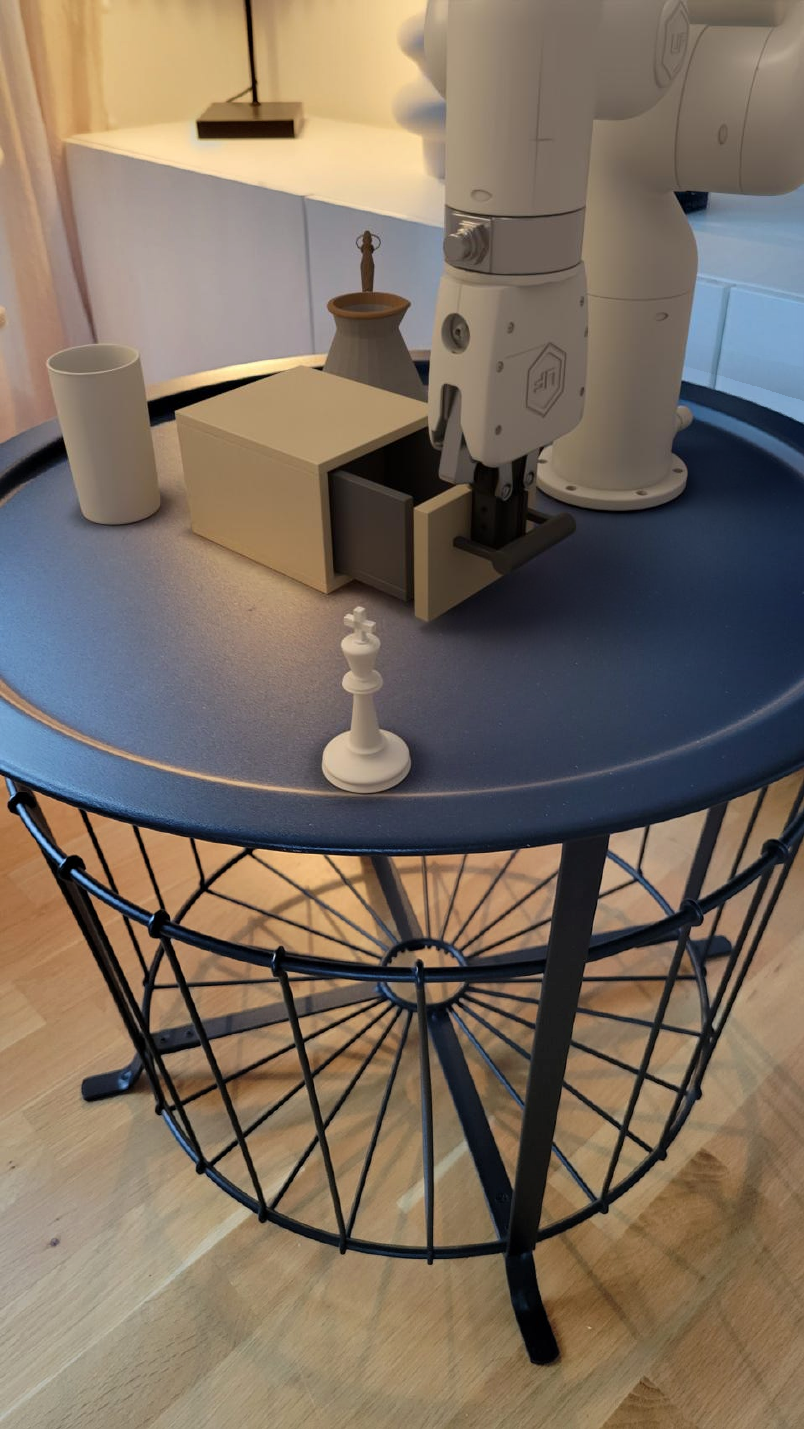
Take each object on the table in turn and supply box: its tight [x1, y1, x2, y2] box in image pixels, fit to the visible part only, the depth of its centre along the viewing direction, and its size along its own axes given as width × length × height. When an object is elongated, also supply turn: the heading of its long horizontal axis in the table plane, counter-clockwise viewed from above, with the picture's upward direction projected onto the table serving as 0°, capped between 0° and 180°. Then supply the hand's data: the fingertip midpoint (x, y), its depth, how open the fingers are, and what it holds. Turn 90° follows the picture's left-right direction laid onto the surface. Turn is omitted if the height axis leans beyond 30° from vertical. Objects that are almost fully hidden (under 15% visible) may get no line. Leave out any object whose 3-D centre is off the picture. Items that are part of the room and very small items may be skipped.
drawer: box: [327, 427, 577, 623], centre depth 72 cm, size 18×11×8 cm, turn 48°
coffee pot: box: [321, 230, 428, 403], centre depth 92 cm, size 21×12×15 cm, turn 1°
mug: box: [45, 343, 162, 525], centre depth 82 cm, size 10×7×12 cm, turn 178°
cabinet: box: [174, 364, 429, 595], centre depth 78 cm, size 15×13×10 cm
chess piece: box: [321, 605, 412, 794], centre depth 55 cm, size 5×5×10 cm
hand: (497, 545), depth 68 cm, fingers closed
